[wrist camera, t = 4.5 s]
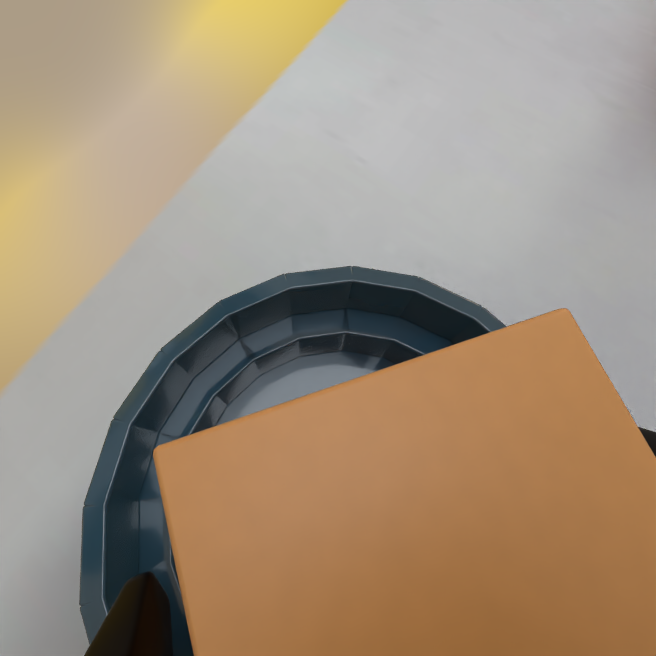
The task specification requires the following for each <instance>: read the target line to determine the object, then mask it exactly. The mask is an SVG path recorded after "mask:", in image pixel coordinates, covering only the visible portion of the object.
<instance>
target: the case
mask: <svg viewBox="0 0 656 656" xmlns="http://www.w3.org/2000/svg"><path fill="white" fill-rule="evenodd" d="M153 458H154V463H155V468H156V473H157V478H158V483H159V488H160V493H161V497H162V502H163V507H164V512H165V517H166V522H167V527H168V532H169V537H170V541H171V546H172V551H173V556H174V561H175V566H176V571H177V576H178V581H179V585H180V590H181V595H182V600H183V605H184V610H185V615H186V620H187V625H188V629H189V634H190V639H191V644H192V649H193V654H194V656H656V457H655V455H654V454H653V452H652V450H651V449H650V447H649V445H648V443H647V442H646V440H645V438H644V437H643V435H642V433H641V432H640V430H639V428H638V426H637V425H636V423H635V421H634V420H633V418H632V416H631V415H630V413H629V411H628V410H627V408H626V406H625V404H624V403H623V401H622V399H621V398H620V396H619V394H618V393H617V391H616V389H615V388H614V386H613V384H612V382H611V381H610V379H609V377H608V376H607V374H606V372H605V371H604V369H603V367H602V365H601V364H600V362H599V360H598V359H597V357H596V355H595V354H594V352H593V350H592V349H591V347H590V345H589V343H588V342H587V340H586V338H585V337H584V335H583V333H582V332H581V330H580V328H579V326H578V325H577V323H576V321H575V320H574V318H573V316H572V315H571V313H570V311H569V310H568V309H566V308H563V309H557V310H554V311H551V312H548V313H546V314H543V315H540V316H537V317H534V318H531V319H528V320H525V321H522V322H519V323H516V324H513V325H510V326H507V327H504V328H502V329H499V330H496V331H493V332H490V333H487V334H484V335H481V336H478V337H475V338H472V339H469V340H466V341H463V342H460V343H458V344H455V345H452V346H449V347H446V348H443V349H440V350H437V351H434V352H431V353H428V354H425V355H422V356H419V357H417V358H414V359H411V360H408V361H405V362H402V363H399V364H396V365H393V366H390V367H387V368H384V369H381V370H378V371H375V372H373V373H370V374H367V375H364V376H361V377H358V378H355V379H352V380H349V381H346V382H343V383H340V384H337V385H334V386H331V387H329V388H326V389H323V390H320V391H317V392H314V393H311V394H308V395H305V396H302V397H299V398H296V399H293V400H290V401H287V402H285V403H282V404H279V405H276V406H273V407H270V408H267V409H264V410H261V411H258V412H255V413H252V414H249V415H246V416H244V417H241V418H238V419H235V420H232V421H229V422H226V423H223V424H220V425H217V426H214V427H211V428H208V429H205V430H202V431H200V432H197V433H194V434H191V435H188V436H185V437H182V438H179V439H176V440H173V441H170V442H167V443H164V444H161V445H159V446H157V447H156V448H155V449H154V451H153Z"/></svg>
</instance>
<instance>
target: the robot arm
mask: <svg viewBox="0 0 656 656" xmlns="http://www.w3.org/2000/svg"><path fill="white" fill-rule="evenodd" d="M638 428H639V430H640V432H641V433H642V435H643V437H644V438H645V440H646V442H647V443H648V445H649V447H650V449H651V450H652V452H653V454H654V455H655V457H656V432H653V431H650V430H647V429H643V428H640V427H638ZM84 656H173V646H172V628H171V611H170V602H169V598H168V595H167V593H166V592H165V590H164V588H163V587H162V585H161V584H160V582H159V581H158V579H157V578H156V576H155V575H154V574H153V572H151V571H147V572H144V573H141V574H139V575H136V576H134V577H132V578H130V579H129V580H128V581H127V582H126V583H125V584H124V586H123V588H122V590H121V591H120V593H119V595H118V597H117V598H116V600H115V602H114V604H113V606H112V607H111V609H110V611H109V613H108V614H107V616H106V618H105V620H104V621H103V623H102V625H101V627H100V629H99V630H98V632H97V634H96V636H95V637H94V639H93V641H92V643H91V644H90V646H89V648H88V650H87V652H86V653H85V655H84Z"/></svg>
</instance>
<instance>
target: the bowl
mask: <svg viewBox="0 0 656 656" xmlns="http://www.w3.org/2000/svg"><path fill="white" fill-rule="evenodd" d="M504 327H507V326H505V325H504V324H503V323H502V322H501V321H499V320H498V319H497V318H496V317H495V316H493V315H492V314H491V313H490V312H489V311H488V310H486V309H485V308H484V307H482V306H481V305H479V304H477V303H475V302H473V301H470V300H468V299H466V298H464V297H462V296H460V295H457V294H455V293H453V292H451V291H449V290H447V289H445V288H442V287H440V286H438V285H436V284H434V283H432V282H430V281H427V280H425V279H423V278H421V277H419V278H418V277H417V276H411V275H405V274H399V273H393V272H387V271H381V270H375V269H369V268H363V267H357V266H353V267H351V266H346V267H338V268H329V269H321V270H312V271H304V272H295V273H287V274H285V275H284V274H282V275H280V276H277V277H275V278H272V279H270V280H268V281H265V282H263V283H261V284H258V285H256V286H254V287H251V288H249V289H247V290H244V291H242V292H239V293H237V294H235V295H232V296H230V297H228V298H225V299H223V300H221V301H219V302H218V303H216V304H215V305H214V306H213V307H211V308H210V309H209V310H208V311H206V312H205V313H204V314H203V315H202V316H200V317H199V318H198V319H197V320H195V321H194V322H193V323H192V324H191V325H189V326H188V327H187V328H186V329H184V330H183V331H182V332H181V333H180V334H178V335H177V336H176V337H175V338H173V339H172V340H171V341H170V342H168V343H167V344H166V345H165V346H164V347H162V348H161V351H159V352H158V353H157V355H156V356H155V357H154V359H153V360H152V362H151V363H150V365H149V366H148V368H147V369H146V370H145V372H144V373H143V375H142V376H141V378H140V379H139V381H138V382H137V383H136V385H135V386H134V388H133V389H132V391H131V392H130V394H129V395H128V396H127V398H126V399H125V401H124V402H123V404H122V405H121V407H120V408H119V409H118V411H117V412H116V414H115V415H114V417H113V418H114V419H113V420H112V421H111V424H110V427H109V430H108V433H107V436H106V439H105V442H104V445H103V448H102V451H101V454H100V457H99V460H98V463H97V466H96V469H95V472H94V475H93V478H92V481H91V484H90V487H89V490H88V493H87V495H86V498H85V501H84V505H85V506H84V507H83V517H82V545H81V573H80V601H79V604H80V606H81V607H80V611H81V615H82V618H83V622H84V626H85V629H86V633H87V637H88V640H89V644H91V643H92V641H93V639H94V637H95V636H96V634H97V632H98V630H99V629H100V627H101V625H102V623H103V621H104V620H105V618H106V616H107V614H108V613H109V611H110V609H111V607H112V606H113V604H114V602H115V600H116V598H117V597H118V595H119V593H120V591H121V590H122V588H123V586H124V584H125V583H126V582H127V581H128V580H129V579H130V578H132V577H134V576H136V575H139V574H141V573H144V572H147V571H151V572H153V574H154V575H155V576H156V578H157V579H158V581H159V582H160V584H161V585H162V587H163V588H164V590H165V592H166V593H167V595H168V598H169V602H170V611H171V628H172V646H173V656H194V654H193V649H192V644H191V639H190V634H189V629H188V625H187V620H186V615H185V610H184V605H183V600H182V595H181V590H180V585H179V581H178V576H177V571H176V566H175V561H174V556H173V551H172V546H171V541H170V537H169V532H168V527H167V522H166V517H165V512H164V507H163V502H162V497H161V493H160V488H159V483H158V478H157V473H156V468H155V463H154V458H153V451H154V449H155V448H156V447H157V446H159V445H161V444H164V443H167V442H170V441H173V440H176V439H179V438H182V437H185V436H188V435H191V434H194V433H197V432H200V431H202V430H205V429H208V428H211V427H214V426H217V425H220V424H223V423H226V422H229V421H232V420H235V419H238V418H241V417H244V416H246V415H249V414H252V413H255V412H258V411H261V410H264V409H267V408H270V407H273V406H276V405H279V404H282V403H285V402H287V401H290V400H293V399H296V398H299V397H302V396H305V395H308V394H311V393H314V392H317V391H320V390H323V389H326V388H329V387H331V386H334V385H337V384H340V383H343V382H346V381H349V380H352V379H355V378H358V377H361V376H364V375H367V374H370V373H373V372H375V371H378V370H381V369H384V368H387V367H390V366H393V365H396V364H399V363H402V362H405V361H408V360H411V359H414V358H417V357H419V356H422V355H425V354H428V353H431V352H434V351H437V350H440V349H443V348H446V347H449V346H452V345H455V344H458V343H460V342H463V341H466V340H469V339H472V338H475V337H478V336H481V335H484V334H487V333H490V332H493V331H496V330H499V329H502V328H504Z"/></svg>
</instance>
